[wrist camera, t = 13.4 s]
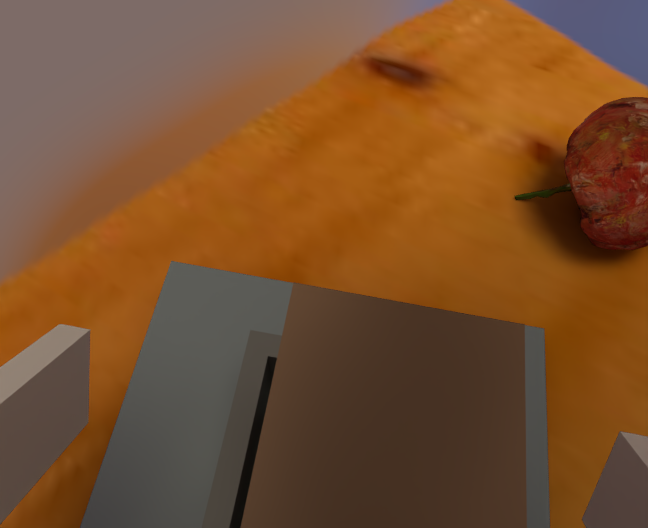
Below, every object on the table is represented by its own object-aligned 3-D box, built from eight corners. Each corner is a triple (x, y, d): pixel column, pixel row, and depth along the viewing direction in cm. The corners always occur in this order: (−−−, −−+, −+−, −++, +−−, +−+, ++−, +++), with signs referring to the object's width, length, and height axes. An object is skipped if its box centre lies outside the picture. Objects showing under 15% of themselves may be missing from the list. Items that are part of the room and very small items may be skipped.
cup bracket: (533, 336, 25) (604, 286, 19) (540, 765, 18) (657, 884, 12) (176, 271, 25) (144, 204, 19) (43, 667, 18) (-67, 740, 12)
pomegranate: (523, 283, 28) (753, 275, 23) (485, 194, 24) (759, 154, 18) (536, 191, 32) (735, 163, 26) (505, 99, 28) (736, 41, 22)
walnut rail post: (384, 433, 21) (525, 324, 8) (372, 540, 19) (527, 601, 7) (290, 415, 21) (293, 282, 9) (270, 520, 19) (236, 546, 7)
